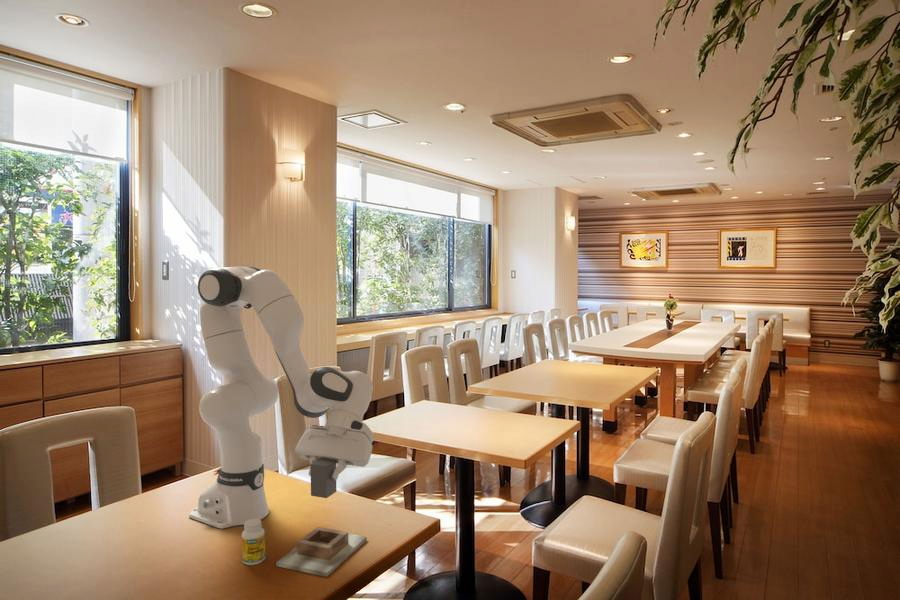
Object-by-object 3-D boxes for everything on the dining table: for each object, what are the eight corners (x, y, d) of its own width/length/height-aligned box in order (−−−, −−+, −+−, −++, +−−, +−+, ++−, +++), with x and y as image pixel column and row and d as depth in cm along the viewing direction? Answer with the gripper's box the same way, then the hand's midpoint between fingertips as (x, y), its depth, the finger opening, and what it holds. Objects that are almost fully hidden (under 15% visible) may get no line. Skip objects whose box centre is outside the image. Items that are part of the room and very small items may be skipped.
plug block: (311, 495, 144) (310, 464, 143) (321, 489, 148) (320, 458, 147) (326, 498, 142) (326, 466, 142) (336, 491, 146) (335, 460, 146)
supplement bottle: (262, 552, 145) (261, 515, 145) (268, 561, 141) (267, 523, 140) (239, 558, 142) (238, 520, 142) (245, 568, 138) (244, 528, 137)
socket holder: (276, 566, 139) (276, 549, 139) (320, 532, 157) (320, 517, 156) (326, 576, 134) (326, 560, 134) (366, 540, 152) (366, 525, 151)
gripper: (303, 418, 154) (281, 466, 145) (372, 425, 147) (353, 476, 138) (313, 430, 158) (292, 477, 150) (380, 437, 151) (362, 488, 143)
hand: (322, 477), depth 144 cm, fingers closed on plug block, 4 cm apart
